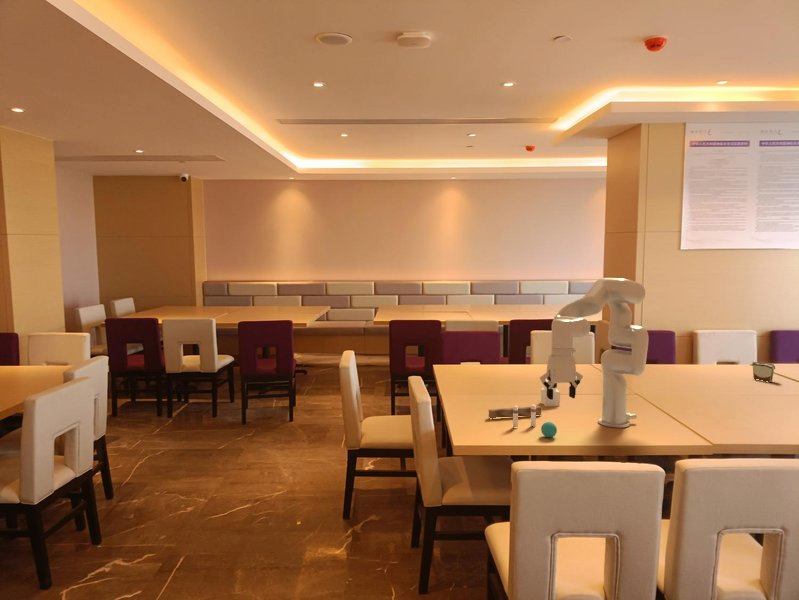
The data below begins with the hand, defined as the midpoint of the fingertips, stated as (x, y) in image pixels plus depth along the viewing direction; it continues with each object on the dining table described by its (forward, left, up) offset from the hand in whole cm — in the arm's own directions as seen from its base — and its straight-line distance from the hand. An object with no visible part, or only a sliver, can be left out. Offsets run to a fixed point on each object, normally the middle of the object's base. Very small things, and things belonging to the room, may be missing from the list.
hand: (561, 398), depth 204 cm
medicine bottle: (-23, -53, -18) cm, 61 cm away
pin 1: (+8, -23, -18) cm, 31 cm away
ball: (0, -9, -15) cm, 18 cm away
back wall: (+2, -37, -18) cm, 42 cm away
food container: (-164, -71, -18) cm, 180 cm away
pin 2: (0, -23, -18) cm, 30 cm away
